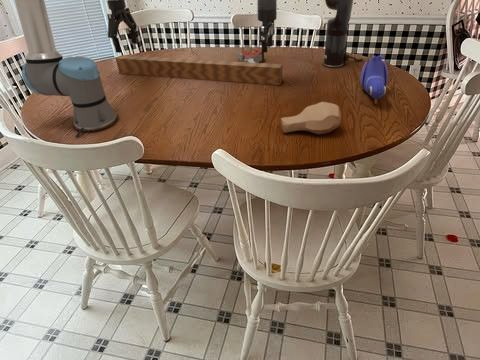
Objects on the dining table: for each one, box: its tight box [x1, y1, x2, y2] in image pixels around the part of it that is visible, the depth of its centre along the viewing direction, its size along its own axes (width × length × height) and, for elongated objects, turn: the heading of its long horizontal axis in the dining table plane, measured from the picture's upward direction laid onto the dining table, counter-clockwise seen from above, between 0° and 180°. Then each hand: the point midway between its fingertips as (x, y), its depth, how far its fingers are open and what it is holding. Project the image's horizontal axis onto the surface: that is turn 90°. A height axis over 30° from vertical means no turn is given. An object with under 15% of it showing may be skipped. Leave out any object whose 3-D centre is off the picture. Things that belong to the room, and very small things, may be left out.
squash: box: [280, 101, 342, 135], centre depth 117 cm, size 11×20×9 cm, turn 92°
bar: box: [115, 55, 284, 86], centre depth 165 cm, size 82×5×8 cm, turn 71°
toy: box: [359, 54, 389, 105], centre depth 135 cm, size 10×17×25 cm
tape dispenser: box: [237, 47, 265, 63], centre depth 175 cm, size 18×5×20 cm
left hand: (127, 48), depth 170 cm, fingers open, 13 cm apart
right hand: (267, 49), depth 149 cm, fingers open, 8 cm apart
